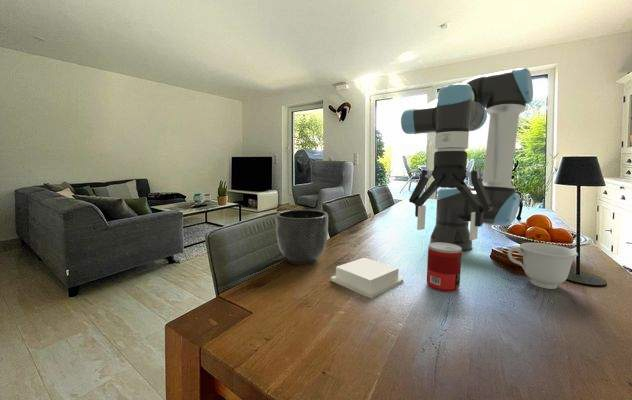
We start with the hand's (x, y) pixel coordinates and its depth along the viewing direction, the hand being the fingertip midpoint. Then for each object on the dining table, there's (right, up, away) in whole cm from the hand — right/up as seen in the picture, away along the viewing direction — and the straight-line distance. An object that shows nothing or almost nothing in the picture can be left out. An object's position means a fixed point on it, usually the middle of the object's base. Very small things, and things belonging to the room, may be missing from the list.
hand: (445, 233), depth 74 cm
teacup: (+27, -14, +4) cm, 30 cm away
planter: (-38, -12, +22) cm, 45 cm away
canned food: (0, -14, +2) cm, 15 cm away
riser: (-19, -14, +5) cm, 24 cm away
